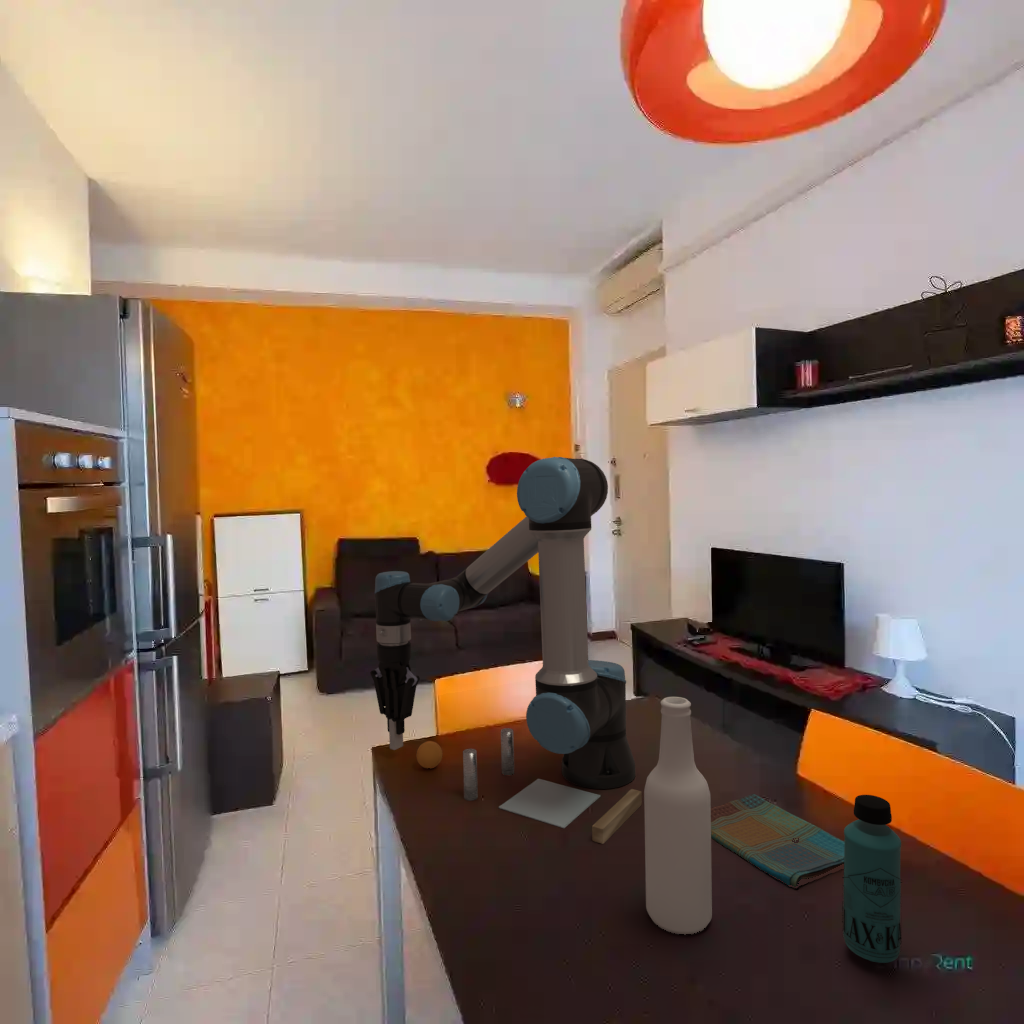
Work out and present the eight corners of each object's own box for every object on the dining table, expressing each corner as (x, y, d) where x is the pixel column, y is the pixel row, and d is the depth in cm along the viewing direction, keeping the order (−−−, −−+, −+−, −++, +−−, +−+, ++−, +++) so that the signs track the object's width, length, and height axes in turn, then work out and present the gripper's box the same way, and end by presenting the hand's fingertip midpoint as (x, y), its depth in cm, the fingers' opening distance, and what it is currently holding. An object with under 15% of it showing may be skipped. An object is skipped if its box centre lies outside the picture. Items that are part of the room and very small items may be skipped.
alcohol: (725, 920, 90) (723, 702, 89) (681, 946, 85) (678, 716, 84) (676, 888, 97) (673, 686, 96) (632, 911, 93) (629, 699, 91)
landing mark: (600, 796, 127) (600, 795, 127) (564, 828, 115) (564, 827, 115) (538, 779, 135) (538, 778, 135) (498, 808, 123) (498, 807, 123)
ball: (448, 765, 143) (447, 740, 142) (431, 775, 138) (430, 749, 138) (428, 760, 146) (427, 735, 146) (411, 769, 141) (410, 743, 141)
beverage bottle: (831, 941, 86) (830, 789, 85) (880, 937, 86) (880, 786, 85) (862, 979, 79) (861, 814, 78) (915, 974, 80) (915, 810, 79)
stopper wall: (641, 804, 123) (641, 791, 123) (603, 844, 110) (602, 829, 110) (631, 801, 124) (631, 788, 124) (592, 840, 111) (592, 826, 111)
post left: (480, 796, 128) (479, 750, 128) (472, 801, 126) (470, 755, 126) (469, 793, 130) (468, 747, 129) (461, 798, 127) (460, 752, 127)
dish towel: (794, 897, 96) (794, 880, 96) (683, 825, 117) (682, 811, 117) (870, 863, 104) (870, 847, 104) (753, 802, 125) (753, 788, 125)
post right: (516, 772, 138) (515, 729, 138) (509, 776, 136) (508, 733, 136) (506, 769, 140) (505, 727, 140) (499, 774, 138) (498, 731, 137)
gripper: (360, 642, 147) (363, 746, 148) (403, 649, 140) (406, 759, 141) (384, 635, 153) (387, 735, 154) (427, 642, 146) (429, 747, 147)
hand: (396, 747), depth 147 cm, fingers closed
